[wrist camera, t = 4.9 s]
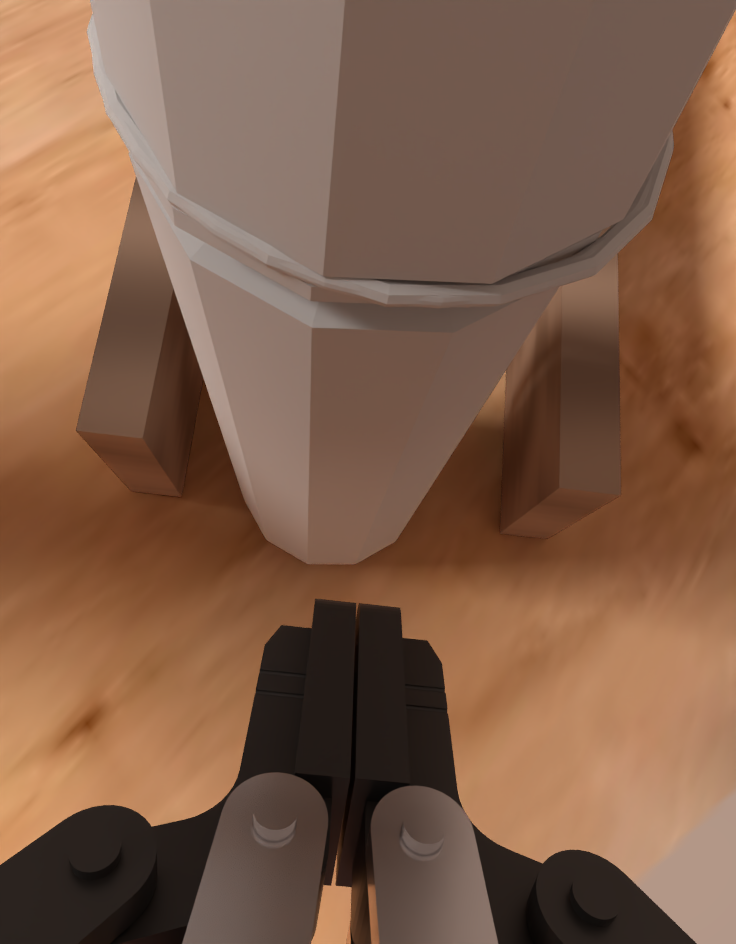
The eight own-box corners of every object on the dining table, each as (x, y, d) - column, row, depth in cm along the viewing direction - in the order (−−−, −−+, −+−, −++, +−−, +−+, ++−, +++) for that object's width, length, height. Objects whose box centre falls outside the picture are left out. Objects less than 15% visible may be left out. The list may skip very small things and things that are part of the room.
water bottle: (335, 616, 27) (565, 116, 3) (198, 476, 28) (-394, -674, 4) (489, 461, 29) (1281, -487, 6) (358, 338, 31) (550, -887, 7)
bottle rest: (547, 538, 29) (621, 495, 22) (131, 491, 28) (75, 430, 21) (559, -83, 39) (611, -240, 33) (259, -132, 38) (250, -304, 32)
